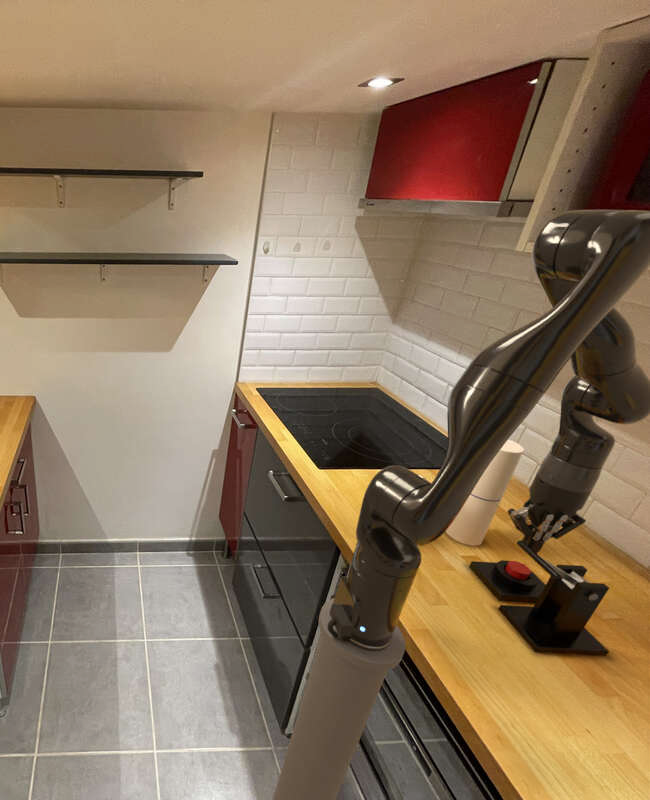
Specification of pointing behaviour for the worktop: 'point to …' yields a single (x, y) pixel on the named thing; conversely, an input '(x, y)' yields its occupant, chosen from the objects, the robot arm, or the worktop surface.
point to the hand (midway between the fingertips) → (528, 551)
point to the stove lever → (552, 567)
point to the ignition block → (507, 582)
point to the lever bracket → (560, 616)
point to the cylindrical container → (485, 497)
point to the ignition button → (518, 570)
